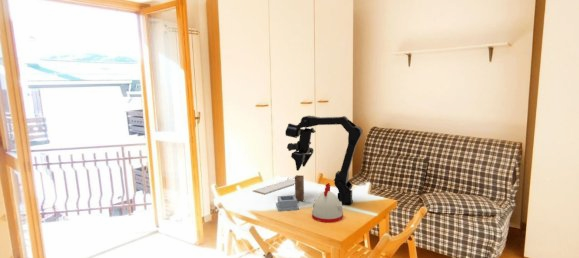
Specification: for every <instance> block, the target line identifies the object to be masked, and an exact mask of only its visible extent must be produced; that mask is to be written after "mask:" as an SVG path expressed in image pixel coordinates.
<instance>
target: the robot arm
mask: <svg viewBox="0 0 579 258" xmlns="http://www.w3.org/2000/svg"><path fill="white" fill-rule="evenodd" d="M323 125H324V126H326V125H327V126H332V125H334V126H335V125H336V126H337V125H341V127H342V128H343V129H344V130H345V131H346V132H347V133H348V137H347V141H348V142H347V148H346V151H345V154H344V157H343V160H342V164H341V166H340V167H341V168H340V170H338V171H336V172H335V178H334V179H333V183H334V186H335V188H336V189H337V191H338V193H337V198H338V199H339V201H340V202H342V205H347V206H352V203H354V200H353V190H352V188H353V184H352V182H350V179H349V176H350V173H349V172H350V168H351V165H352V162H353V158H354V154H355V152H356V148H357V145H358V144H359V142H360V139H361V137H362V136H363V133H364V131H363V128H362V127H361V126H359V125H356V124H355V123H354V122H352V121H351V120H350V119H349V118H348V117H347V116H344V115H343V116H326V117H325V116H322V117H320V116H314V115H305V116H302V117H301V119H300V122H298V124H293V123H288V124H287V127H286V129H285V137H290V138H295V139H297V138H299V140H298V141H297V142H294V143H292V142H290V143H288V144H287V146H286V149H288V152H290V151H293V152H292V153H291V155H290V157H291V159H293V160H294V163H295V169H296V171H299V170H301V167H303V168H304V167H306V165H307V163H308V162H309V160H310V159H311V157H312V155H313V154H314V148H313V147H310V146H311V145H312V142H311V137H312V134H314V133H316V130H315V129H314V127H315V126H323Z"/></svg>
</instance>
